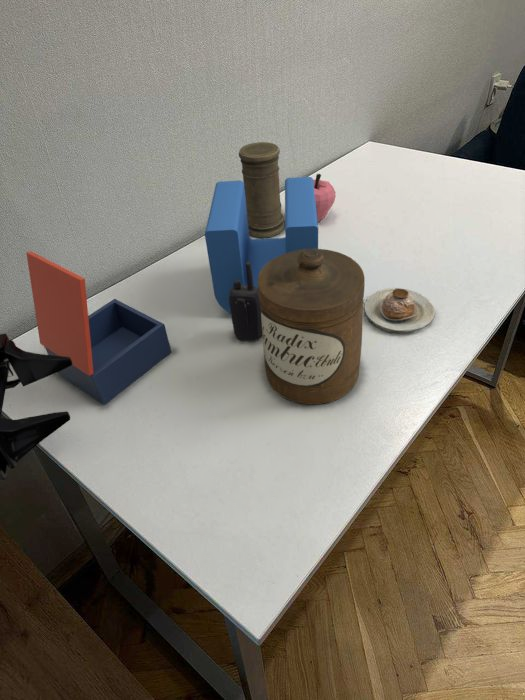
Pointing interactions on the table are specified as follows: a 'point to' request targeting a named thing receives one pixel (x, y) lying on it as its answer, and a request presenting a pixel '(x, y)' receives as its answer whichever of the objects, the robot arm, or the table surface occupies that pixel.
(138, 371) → the box
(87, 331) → the lid
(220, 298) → the block
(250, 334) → the two-way radio
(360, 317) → the wooden container
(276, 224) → the container
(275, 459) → the table surface
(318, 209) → the apple
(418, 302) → the pastry
